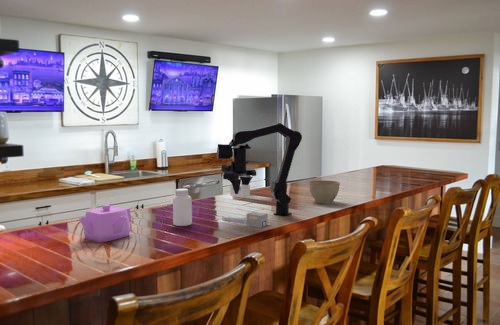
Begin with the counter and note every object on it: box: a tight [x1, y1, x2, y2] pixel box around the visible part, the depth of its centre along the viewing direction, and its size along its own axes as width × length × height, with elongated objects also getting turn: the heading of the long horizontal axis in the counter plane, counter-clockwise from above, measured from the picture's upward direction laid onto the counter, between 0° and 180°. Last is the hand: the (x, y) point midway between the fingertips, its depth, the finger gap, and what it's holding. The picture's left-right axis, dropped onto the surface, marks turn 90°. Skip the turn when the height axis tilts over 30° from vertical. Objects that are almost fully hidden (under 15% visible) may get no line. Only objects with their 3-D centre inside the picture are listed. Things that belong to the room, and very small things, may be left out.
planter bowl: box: [308, 179, 341, 204], centre depth 256 cm, size 16×16×11 cm
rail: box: [217, 215, 270, 228], centre depth 208 cm, size 8×22×2 cm, turn 57°
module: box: [229, 183, 251, 198], centre depth 221 cm, size 6×7×5 cm
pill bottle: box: [172, 188, 193, 227], centre depth 206 cm, size 8×8×15 cm
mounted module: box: [245, 211, 269, 228], centre depth 204 cm, size 6×7×5 cm
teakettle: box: [78, 204, 132, 243], centre depth 186 cm, size 17×17×12 cm
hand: (240, 193), depth 221 cm, fingers closed on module, 5 cm apart
